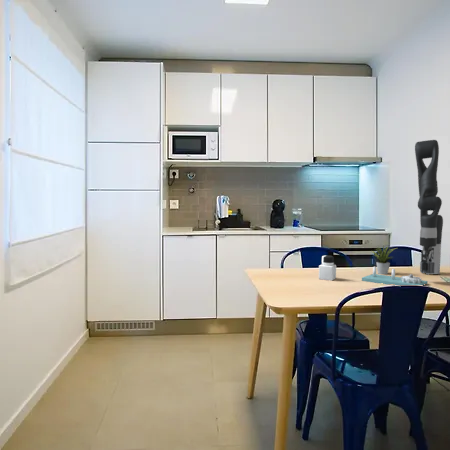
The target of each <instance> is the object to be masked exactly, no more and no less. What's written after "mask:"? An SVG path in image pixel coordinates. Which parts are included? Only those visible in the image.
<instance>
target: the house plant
mask: <svg viewBox="0 0 450 450" xmlns="http://www.w3.org/2000/svg"><path fill="white" fill-rule="evenodd" d="M382 247H383V248H381V247H379V246H376V248H374V250H375V251H376V252H375V251H372V250H371V252H372V254H374V255H373V256H374V257H376V258H377V259H378V261H376V272H377V274H378V275H389V270H390V269H389V268H390V264H391V263H390V262H388V260H394V258H395V257H394V256H389V255H390V254H392V252H393V251H394V250H396V249H397V247H396V248H393V247H392V246H391V247H390V248H392V249H390V248H389V246H386V247H385V245H382ZM382 249H383V250H382Z"/></svg>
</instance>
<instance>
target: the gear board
mask: <svg viewBox="0 0 450 450" xmlns="http://www.w3.org/2000/svg"><path fill="white" fill-rule="evenodd" d="M361 281H363V282H368V283H369V282H370V283H375V284H376V283H377V284H381V283H383V284H382V285H388V284H395V285H424V284H427V285H428V284H429V283H428V280H424V279H423V280H422V278H421V277H420V276H415V275H414V274H413V273H411V274H408V275H402V276H401V277H399V276H396V269H395V268H392V269H391V276H390V275H387V274H378V273H377V266H373V267H372V274H369V275H366V276H363V277H361ZM395 285H394V286H395Z"/></svg>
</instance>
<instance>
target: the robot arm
mask: <svg viewBox="0 0 450 450" xmlns="http://www.w3.org/2000/svg"><path fill="white" fill-rule="evenodd" d="M414 153H415V161H416V168H417V180H418V182H417V183H418V196H419V199H418V200H417V208H418V209H419V210H420V211H419V213H420V220H419V223H420V232H419V245H420V247H422V249H421V254H420V256H421V257H420V260H421V261H420V262H422V263H423V270H424V271H427V270H428V261H429V262H434V263H435V269H434V273H432V274H439V275H440V274H441V272H440V271H441V256H442V255H441V254H442V252H441V251H442V238H443V237H442V236H443V226H444V218H443V216H442V215H441V214H439V212H440V210H441V207H442V204H443V200H442V199H441V198H440V196H438V192H439V187H438V179H437V173H438V167H439V155H440V146H439V141H438V140H437V139H430V140H422V141H417V142H415V145H414ZM425 159H431V161H430V163H429V165H428V166H426V164H425V163H424V160H425ZM429 211H432V213H430V214H429ZM429 274H430V273H426V274H425V275H429Z"/></svg>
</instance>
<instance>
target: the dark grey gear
mask: <svg viewBox="0 0 450 450" xmlns="http://www.w3.org/2000/svg"><path fill="white" fill-rule="evenodd" d="M419 264H420V265H419V266H420V267H419V272H420V273H421V274H423V273H430V274H432V273H434V269H435V263H434V262H429V261H428V270H427V271H424V270H423V263H422V262H421V261H420V263H419Z"/></svg>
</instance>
